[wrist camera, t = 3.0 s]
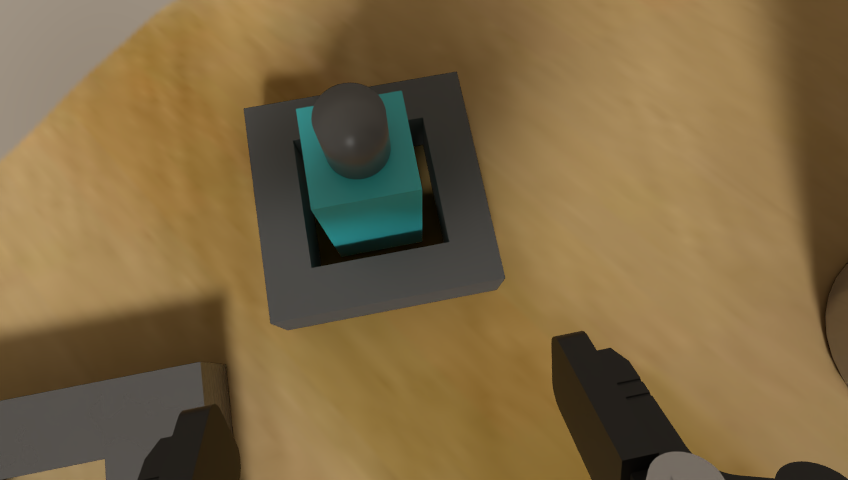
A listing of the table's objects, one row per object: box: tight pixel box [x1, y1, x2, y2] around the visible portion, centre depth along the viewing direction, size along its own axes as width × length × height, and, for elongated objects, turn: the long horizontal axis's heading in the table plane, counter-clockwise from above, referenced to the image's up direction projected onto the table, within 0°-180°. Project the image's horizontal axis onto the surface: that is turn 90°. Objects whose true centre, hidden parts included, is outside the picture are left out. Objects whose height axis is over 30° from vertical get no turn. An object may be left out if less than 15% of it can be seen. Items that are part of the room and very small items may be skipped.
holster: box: [244, 72, 505, 330], centre depth 26 cm, size 10×10×3 cm
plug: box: [296, 83, 422, 257], centre depth 23 cm, size 4×4×10 cm
